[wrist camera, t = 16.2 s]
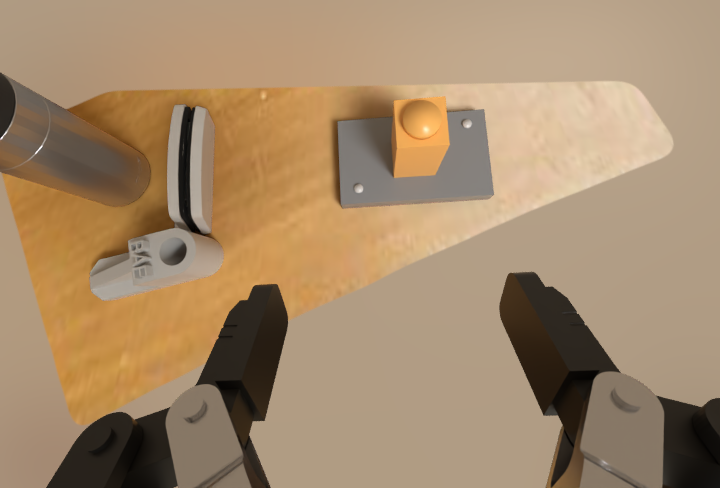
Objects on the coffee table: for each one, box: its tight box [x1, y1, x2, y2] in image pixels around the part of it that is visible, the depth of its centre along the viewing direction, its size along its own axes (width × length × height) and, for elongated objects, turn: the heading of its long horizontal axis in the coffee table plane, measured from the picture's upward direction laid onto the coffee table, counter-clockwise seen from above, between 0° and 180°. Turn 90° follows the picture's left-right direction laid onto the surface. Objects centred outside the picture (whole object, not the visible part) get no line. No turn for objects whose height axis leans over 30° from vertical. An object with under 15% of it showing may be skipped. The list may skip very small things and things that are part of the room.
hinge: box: [167, 104, 215, 234], centre depth 42 cm, size 17×5×10 cm, turn 2°
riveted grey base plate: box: [338, 109, 494, 208], centre depth 40 cm, size 20×12×7 cm, turn 93°
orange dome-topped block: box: [391, 96, 450, 178], centre depth 37 cm, size 6×6×10 cm
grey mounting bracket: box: [89, 228, 224, 301], centre depth 40 cm, size 6×18×8 cm, turn 104°
